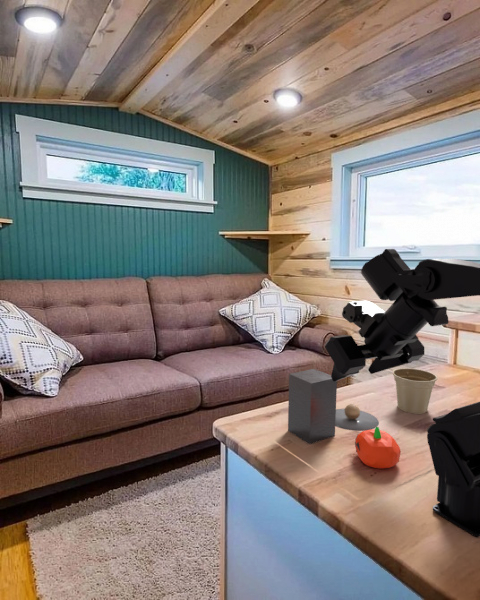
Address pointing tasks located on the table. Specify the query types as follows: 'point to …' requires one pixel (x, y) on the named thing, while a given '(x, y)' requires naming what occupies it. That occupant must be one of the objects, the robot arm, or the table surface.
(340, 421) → the slate coaster
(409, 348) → the robot arm
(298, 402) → the dark grey square block
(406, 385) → the flower pot
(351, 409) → the cork ball
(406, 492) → the table surface
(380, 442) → the pumpkin
